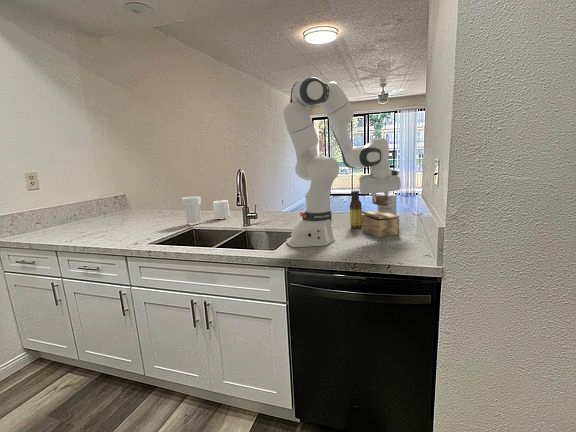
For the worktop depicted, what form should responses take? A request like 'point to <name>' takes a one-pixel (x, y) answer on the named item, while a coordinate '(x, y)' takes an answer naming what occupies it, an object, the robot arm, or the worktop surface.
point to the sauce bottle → (355, 210)
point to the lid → (380, 214)
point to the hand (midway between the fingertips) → (380, 201)
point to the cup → (192, 208)
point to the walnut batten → (381, 200)
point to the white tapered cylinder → (221, 209)
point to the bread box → (380, 226)
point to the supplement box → (389, 204)
